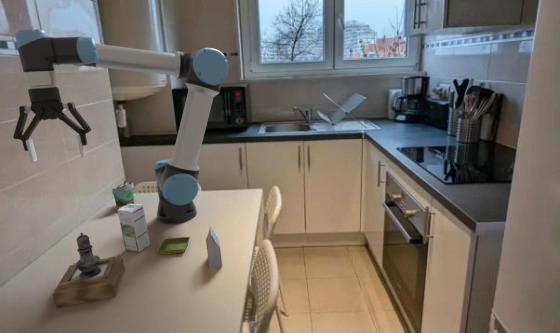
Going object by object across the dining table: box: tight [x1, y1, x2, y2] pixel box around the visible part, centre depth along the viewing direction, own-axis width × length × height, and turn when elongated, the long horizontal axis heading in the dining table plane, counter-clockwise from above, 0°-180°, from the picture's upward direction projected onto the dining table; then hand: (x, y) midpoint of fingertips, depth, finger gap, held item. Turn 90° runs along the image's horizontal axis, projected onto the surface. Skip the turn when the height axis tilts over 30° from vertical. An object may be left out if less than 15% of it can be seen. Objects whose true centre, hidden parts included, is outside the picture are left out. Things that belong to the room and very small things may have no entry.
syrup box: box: [117, 203, 151, 253], centre depth 116 cm, size 6×6×14 cm
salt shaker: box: [75, 232, 101, 279], centre depth 95 cm, size 6×6×12 cm
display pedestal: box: [52, 256, 126, 309], centre depth 97 cm, size 14×14×5 cm
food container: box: [111, 180, 135, 211], centre depth 155 cm, size 12×6×10 cm, turn 179°
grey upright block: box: [205, 227, 223, 269], centre depth 105 cm, size 4×7×10 cm, turn 14°
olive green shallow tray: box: [156, 236, 191, 255], centre depth 116 cm, size 9×9×2 cm
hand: (59, 158), depth 109 cm, fingers open, 13 cm apart
